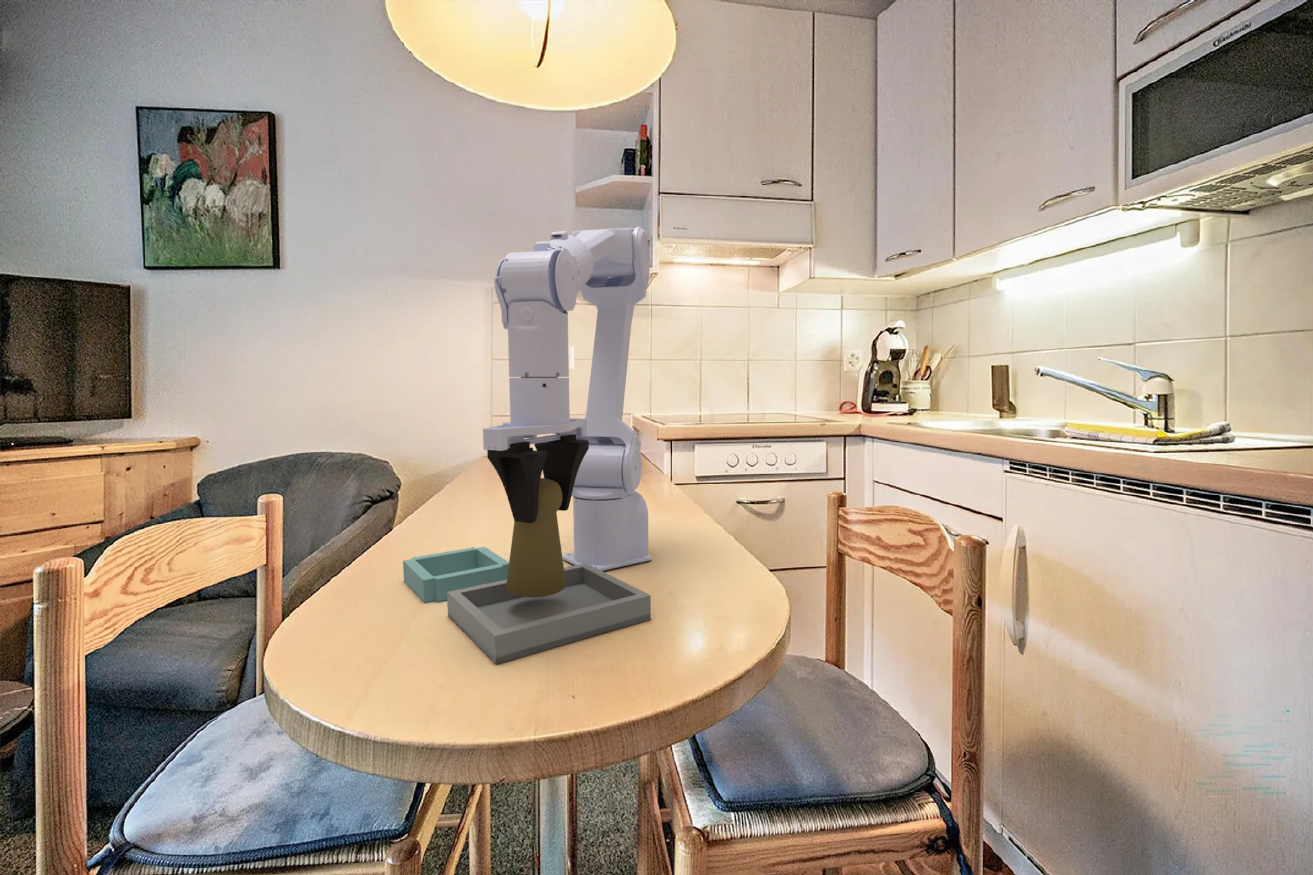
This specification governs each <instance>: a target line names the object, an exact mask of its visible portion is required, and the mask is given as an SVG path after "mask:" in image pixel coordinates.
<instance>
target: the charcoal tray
mask: <svg viewBox="0 0 1313 875" xmlns="http://www.w3.org/2000/svg"><path fill="white" fill-rule="evenodd" d="M564 574H565V581H566V587H565V588H564V589H563V590H562V591H560V592H558V593H556V594H553V595H550V596H544V597H532V598H531V597H520V596H516V595H513V594H511V593H509V592H508V591H507V590H506V583H507V580H503V581H498V582H493V583H488V584H483V585H478V586H474V587H469V588H464V589H459V590H454V591H450V592H447V600H446V601H447V616H448V617H449V619H450V620H451V621H452V622H453V623H454V624H455V625H456V626H457V627H458V628H459V629H460V630H461V631H462V632H463V633H464V634H465V635H466V636H467V637H468V638H469V639H470V640H471V641H472V642H473V643H474V645H476V646H477V647H478V648H479V649H480V651H482V653H484V654H485V655H486V656H487V657H488V659H490V660H491V662H492V663H494V665H499V664H503V663H506V662H509V661H510V662H511V661H513V660H516V659H521V658H523V657H528V656H529V655H533V654H538V653H541V652H544V651H548V650H550V649H554V648H558V647H561V646H565V645H568V644H572V643H575V642H579V641H582V640H585V639H589V638H592V637H595V636H599V635H603V634H606V633H609V632H613V631H616V630H620V629H624V628H627V627H630V626H634V625H637V624H641V623H644V622H646V621H647V622H648V621H651V619H652V617H651V616H652V614H651V612H652V611H651V606H652V605H651V602H652V601H651V600H652V599H651V598H652V597H651V596H652V595H651V594H648V593H647V592H645V591H643V590H641V589H638V588H637V587H635V586H633V585H631V584H629V583H627V582H624V581H623V580H621V579H618V578H617V577H616V576H612V575H610V574H608V573H607V572H604V571H601V570H599V569H597V568H595V567H593V566H591V565H588V564H586V563H584V564H580V565H571V566H566V567H564Z"/></svg>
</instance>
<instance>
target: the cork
mask: <svg viewBox="0 0 1313 875" xmlns="http://www.w3.org/2000/svg"><path fill="white" fill-rule="evenodd" d="M561 503H562V491H561V487H560V486H559V484H558V483H557V482H555V481H553V480H550V479H545V478H544V477H541V478H540V484H539V496H538V512H537V517H536V521H535V522H533V523H525V522H516V521H514V520H513V522H514V523H513V530H512V537H511V545H510V552H509V553H510V554H509V560H508V562H509V568H508V575H507V583H506V590H507V591H508V592H509V593H511V594H513V595H516V596H520V597H531V598H532V597H544V596H550V595H553V594H556V593H558V592H560V591H562V590H563V589H564V588H565V587H566V581H565V574H564V568H565V567H564V559H563V558H562V555H563V552H562V551H563V550H562V544H561V538H560V530H559V520H558V515H557V512H558V511H559V510H558V509H559V508H560V507H561Z"/></svg>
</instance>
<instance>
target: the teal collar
mask: <svg viewBox="0 0 1313 875" xmlns="http://www.w3.org/2000/svg"><path fill="white" fill-rule="evenodd" d="M402 565H403V566H402V568H403V582H404V583H405V584H406V585H407V586H408V587H409V588H410V590H412V592H414V594H415V595H416V596H417V597H418V598H419V599H420V600H421V601H422V602H423V603H424V604H425V603H430V602H434V601H436V603H438V602H444V601H447V592H450V591H454V590H459V589H464V588H469V587H474V586H478V585H483V584H488V583H493V582H498V581H503V580H507V575H508V568H509V560H506V559H505V558H503V557H502V556H500V555H498V554H497V553H495V552H493V551H492V550H491V549H489V548H487V547H486V546H481V547H474V546H473V547H467V548H461V549H457V550H456V549H455V550H450V551H449V550H448V551H443V552H437V553H432V554H426V555H420V556H413V557H412V558H410V559H405V560H403V561H402Z"/></svg>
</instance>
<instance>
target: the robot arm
mask: <svg viewBox="0 0 1313 875" xmlns="http://www.w3.org/2000/svg"><path fill="white" fill-rule="evenodd" d="M549 238H550V240H543V241H542V240H541V241H537V242H535V243H534V244H533V248H532V249H530V250H529V251H518V252H517V251H516V252H514V251H513V252H509V253H507V255H505V257H504V258H502V259H501V260H500V261H499V262H498V264H497V268H496V272H495V277H494V279H493V283H494V289H495V294H496V298H497V301H498V303H499V306H500V310H501V323H502V326H503V329H504V330H507V343H508V376H509V379H508V382H509V387H508V388H509V413H510V414H509V420H510V421H504V422H502V424H499V425H496V426H490V427H485V428H484V427H483V428H482V437H483V438H482V443H483V450H484V451H486V452H487V456H486V458H487V459H488V460H489V462H490V463H491V465H492V467H493V468H494V470H495V471H496V473H497V475H498V477H499V479H500V480H501V483H502V486H503V488H504V491H505V494H506V497H507V499H508V500H507V501H508V503H509V507H510V510H511V513H512V519H513V522H514V521H516V522H525V523H533V522H535V521H536V517H537V512H538V496H539V484H540V478H542V475H543V478H545V479H550V480H553V481H555V482H557V483H558V484H559V486H560V487H561V491H562V503H561V507H560V508H559V509H558V511H563V512H566V511H569V508H570V503H571V500H572V502H573V503H572V507H573V510H572V511H573V512H572V513H573V517H572V518H573V552H570V553H564V554H562V558H563V561H566V562H568V563H570V564H571V565H572V566H575V565H580V564H584V563H586V564H588V565H591V566H593V567H595V568H597V569H599V570H601V571H603V572H604V571H607V570H612V569H617V568H621V567H626V566H630V565H634V564H640V563H643V562H649V561H651V560H653V558H652V557H653V556H652V555H650V554H649V509H648V504H647V503H646V500H645V498H644V497H643V495H642V494H641V493H640V492H638V491H636V490H637V489H638V487H639V486H640V482H641V480H642V479H641V477H642V471H643V470H642V468H643V467H642V455H641V454H642V453H641V450H642V449H641V448H642V443H641V440H640V437H639V435H638V434H637V432H636V431H635V430H633V428H632V427H630V426H629V425H627V424H626V423H625V422H624V421H623V415H624V414H623V413H624V405H625V404H624V403H625V396H626V395H625V392H626V385H627V383H626V382H627V374H628V362H629V354H630V353H629V350H630V343H631V342H630V341H631V332H632V331H631V330H632V323H633V317H634V311H635V306H636V305H637V304H638V303H639V302H641V301H642V300H644V299H646V297H647V290H648V288H649V278H650V268H651V256H650V253H651V252H650V243H649V237H648V234H647V232H646V231H645V230H644V229H643V228H642V227H641V226H636V227H625V228H623V227H622V228H621V227H620V228H619V227H618V228H604V229H603V228H601V229H600V228H598V229H584V230H581V229H580V230H573V231H572V232H571V233H570V235H569V233H568V231H567V230H562V231H561V230H560V231H553V232H551V233H550V234H549ZM579 292H580V293H581V296H582V299H583V300H584V301H586V302H587V303H590V304H591V305H593V306H595V308H596V311H597V315H596V323H595V332H594V339H593V340H594V342H593V349H592V358H591V367H590V375H589V376H590V377H589V384H588V386H589V387H588V395H587V400H586V401H587V403H586V411H585V412H586V413H585V417H584V418H571V417H570V416H571V415H570V414H571V412H570V378H569V377H570V366H569V365H570V364H569V362H570V361H569V355H570V354H569V312H573V311H574V309H575V307H576V304H577V299H578V294H579ZM550 434H551V435H550ZM538 435H542V436H538ZM543 435H544V436H543ZM531 445H534V448H535V450H534V448H533V447H531Z"/></svg>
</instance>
